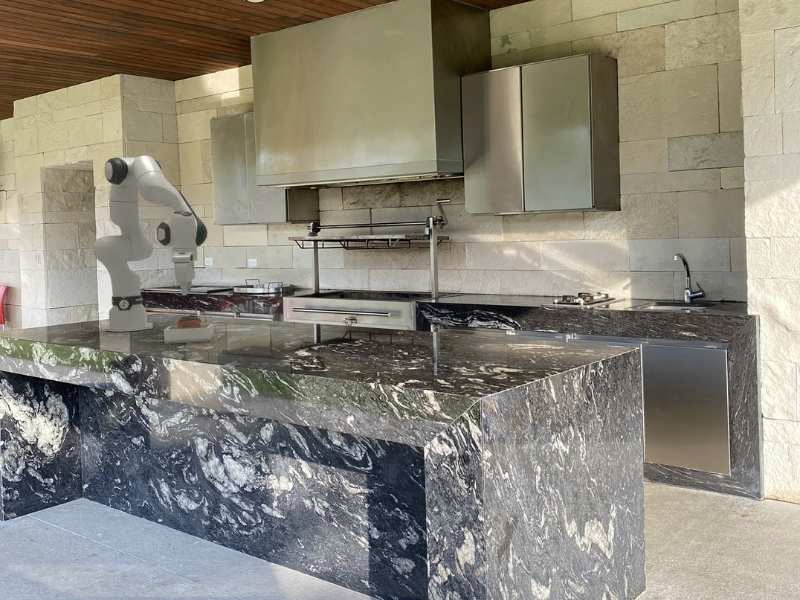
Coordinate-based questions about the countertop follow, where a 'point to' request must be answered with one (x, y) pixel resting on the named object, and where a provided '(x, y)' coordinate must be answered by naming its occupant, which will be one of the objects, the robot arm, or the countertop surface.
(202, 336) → the tray
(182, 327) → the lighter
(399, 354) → the countertop surface
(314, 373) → the countertop surface
